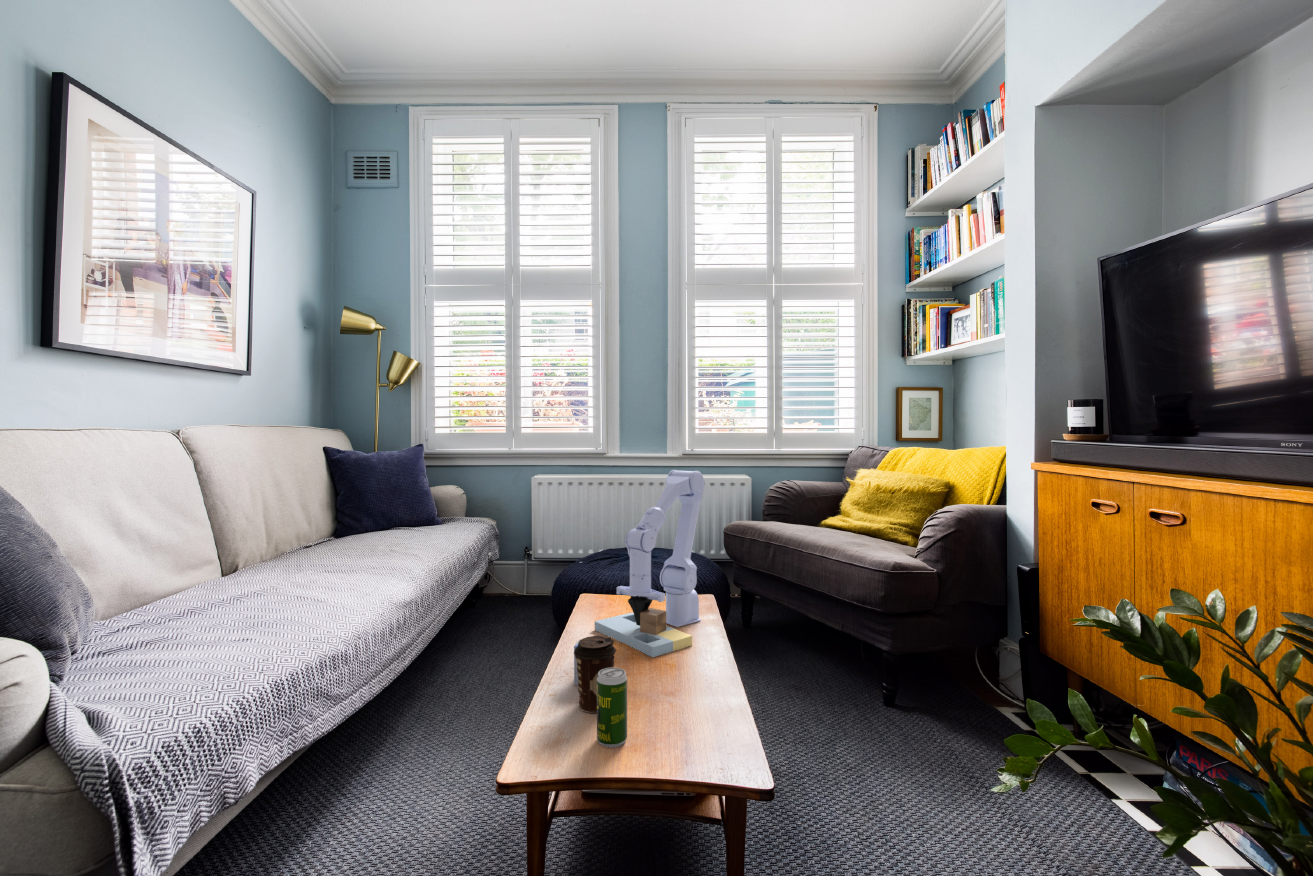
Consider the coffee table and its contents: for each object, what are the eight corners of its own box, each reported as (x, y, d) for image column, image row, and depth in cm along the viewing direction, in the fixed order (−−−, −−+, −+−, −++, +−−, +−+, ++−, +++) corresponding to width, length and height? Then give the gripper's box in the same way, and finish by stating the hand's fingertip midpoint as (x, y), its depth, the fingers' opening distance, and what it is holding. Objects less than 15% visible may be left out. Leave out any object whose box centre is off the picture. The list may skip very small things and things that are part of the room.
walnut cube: (650, 626, 158) (650, 607, 158) (666, 629, 155) (666, 611, 155) (640, 631, 154) (640, 612, 154) (656, 635, 151) (656, 615, 151)
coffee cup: (624, 701, 118) (624, 637, 118) (604, 720, 111) (604, 651, 111) (587, 694, 122) (587, 631, 122) (565, 710, 114) (565, 644, 114)
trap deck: (632, 620, 171) (632, 612, 171) (692, 645, 150) (692, 635, 150) (594, 630, 162) (594, 621, 162) (652, 657, 142) (652, 647, 142)
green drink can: (611, 730, 107) (611, 664, 107) (633, 739, 103) (633, 672, 103) (590, 741, 103) (590, 673, 103) (612, 752, 99) (612, 681, 99)
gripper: (609, 573, 157) (609, 623, 157) (654, 580, 149) (654, 633, 149) (625, 568, 163) (625, 616, 163) (669, 575, 155) (669, 626, 155)
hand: (640, 624), depth 157 cm, fingers closed
